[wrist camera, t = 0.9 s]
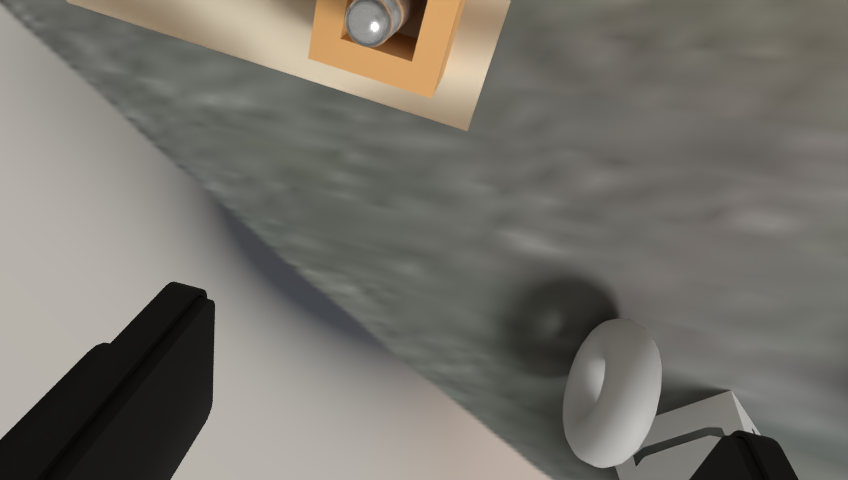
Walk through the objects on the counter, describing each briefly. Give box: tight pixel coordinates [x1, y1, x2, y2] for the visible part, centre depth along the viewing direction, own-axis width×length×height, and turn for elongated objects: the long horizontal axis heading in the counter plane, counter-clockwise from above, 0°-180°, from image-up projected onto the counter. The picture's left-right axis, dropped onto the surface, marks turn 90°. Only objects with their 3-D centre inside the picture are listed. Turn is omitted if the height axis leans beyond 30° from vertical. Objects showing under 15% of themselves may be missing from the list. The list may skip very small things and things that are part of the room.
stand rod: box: [345, 0, 423, 47], centre depth 25 cm, size 2×2×9 cm
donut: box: [563, 318, 662, 468], centre depth 36 cm, size 10×4×10 cm, turn 164°
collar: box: [308, 0, 465, 98], centre depth 27 cm, size 6×6×5 cm
